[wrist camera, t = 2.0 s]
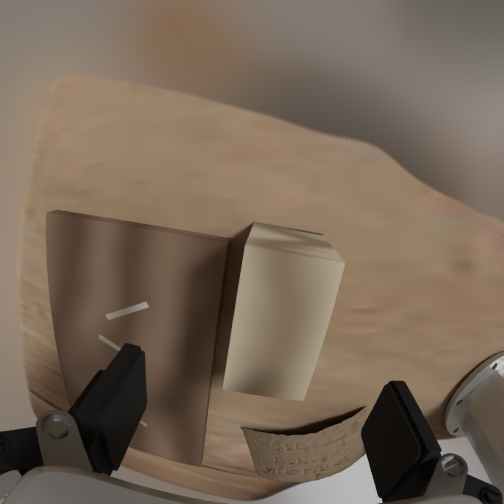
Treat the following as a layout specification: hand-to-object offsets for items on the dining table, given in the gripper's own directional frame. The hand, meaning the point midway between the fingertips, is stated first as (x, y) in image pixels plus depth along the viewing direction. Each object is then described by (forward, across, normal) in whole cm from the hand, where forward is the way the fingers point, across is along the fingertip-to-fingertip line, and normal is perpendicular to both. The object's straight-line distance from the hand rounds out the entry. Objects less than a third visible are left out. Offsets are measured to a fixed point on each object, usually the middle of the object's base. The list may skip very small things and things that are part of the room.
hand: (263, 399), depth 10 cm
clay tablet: (+14, -8, +18) cm, 24 cm away
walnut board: (+13, +11, +10) cm, 20 cm away
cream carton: (+13, -1, 0) cm, 13 cm away
